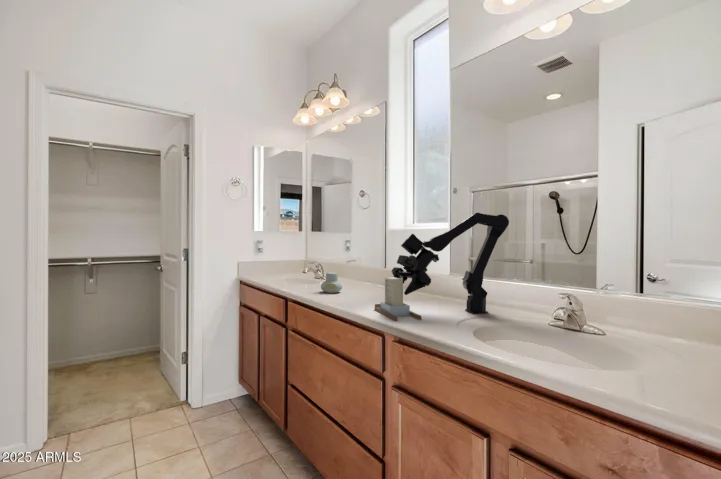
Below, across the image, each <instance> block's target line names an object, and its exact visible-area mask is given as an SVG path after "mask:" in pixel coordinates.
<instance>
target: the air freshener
mask: <svg viewBox="0 0 721 479" xmlns="http://www.w3.org/2000/svg"><path fill="white" fill-rule="evenodd" d="M320 289H321V291H323V292H324V293H327V294H336V293H339V292H341V290H342V289H343V284H342V283H341V282H340V281H339V280H338V273H337V272H326V273H325V281H323V282H322V283H321V284H320Z"/></svg>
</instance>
